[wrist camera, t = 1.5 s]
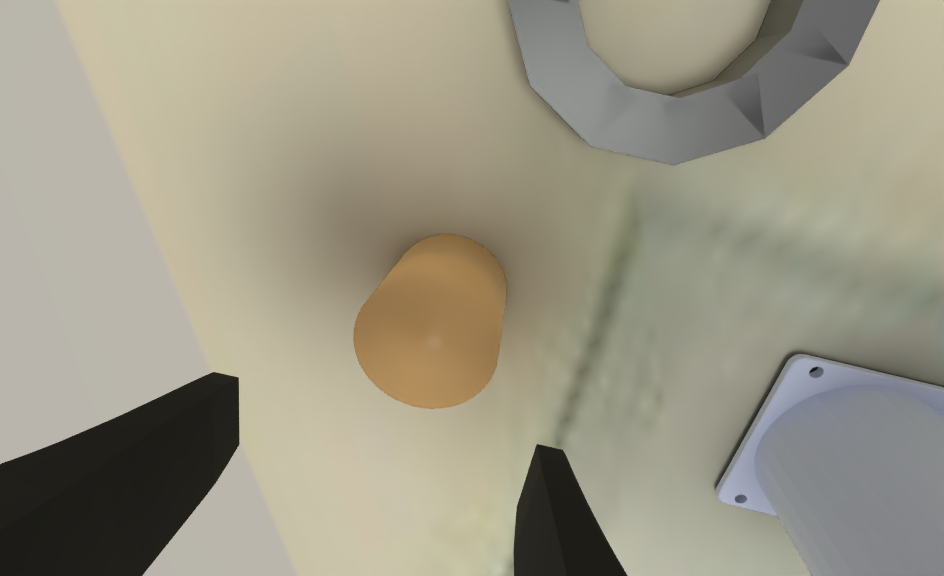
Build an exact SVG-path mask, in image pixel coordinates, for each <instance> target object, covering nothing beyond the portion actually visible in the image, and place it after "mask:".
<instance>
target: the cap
mask: <svg viewBox="0 0 944 576" xmlns="http://www.w3.org/2000/svg"><path fill="white" fill-rule="evenodd" d="M506 290H507V288H506V280H505V276H504V273H503V271H502V268H501V266H500V265H499V263H498V261H497V260H496V259H495V257H494V256H493V255H492V254H491V253H490V252H489V251H488V250H487V249H486V248H485V247H483V246H482V245H480V244H479V243H477V242H476V241H473V240H471V239H469V238H466V237H463V236H458V235H450V234H443V235H435V236H431V237H428V238H425V239H423V240H421V241H419V242H417V243H416V244H414V245H413V246H412V247H411V248H410V249H409V250H407V251H406V253H405V254H404V255H403V256H402V258H401V259H400V260H399V261H398V263H397V264H396V265H395V266H394V268H393V269H392V270H391V271H390V273H389V274H388V275H387V276H386V278H385V279H384V280H383V281H382V283H381V284H380V285H379V286H378V288H377V289H376V290H375V291H374V293H373V294H372V295H371V296H370V298H369V299H368V300H367V301H366V303H365V304H364V305H363V307H362V308H361V310H360V312H359V314H358V317H357V319H356V322H355V327H354V347H355V352H356V355H357V358H358V361H359V363H360V365H361V367H362V369H363V371H364V372H365V373H366V375H367V376H368V378H369V379H370V380H371V381H372V382H373V383H374V384H375V385H376V386H377V387H378V388H379V389H380V390H382V391H383V392H384V393H386V394H387V395H389V396H390V397H392V398H394V399H396V400H398V401H400V402H403V403H405V404H408V405H411V406H415V407H421V408H430V409H435V408H446V407H451V406H455V405H458V404H461V403H463V402H466V401H467V400H469V399H471V398H473V397H474V396H475V395H477V394H478V393H479V392H480V391H481V390H482V389H483V388H484V387H485V386H486V385H487V383H488V382H489V381H490V379H491V377H492V375H493V374H494V371H495V368H496V365H497V360H498V354H499V347H500V339H501V332H502V324H503V317H504V309H505V302H506Z"/></svg>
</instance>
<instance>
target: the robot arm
mask: <svg viewBox="0 0 944 576" xmlns="http://www.w3.org/2000/svg"><path fill="white" fill-rule="evenodd" d="M814 367H818V369H817V370H816V371H814V372H812V373H809V371H810V370H811V369H812V368H814ZM238 446H239V378H238V377H234V376H229V375H225V374H220V373H216V372H213V373H210V374H208V375H206V376H203V377H201V378H199V379H197V380H195V381H193V382H190V383H188V384H186V385H184V386H182V387H180V388H178V389H176V390H174V391H171V392H169V393H167V394H165V395H163V396H161V397H159V398H157V399H155V400H153V401H150V402H148V403H146V404H144V405H142V406H140V407H138V408H136V409H133V410H131V411H129V412H127V413H125V414H123V415H121V416H118V417H116V418H114V419H112V420H109V421H107V422H105V423H102V424H100V425H98V426H95V427H93V428H91V429H88V430H86V431H84V432H81V433H79V434H77V435H74V436H72V437H70V438H68V439H65V440H63V441H60V442H58V443H55V444H53V445H50V446H48V447H45V448H43V449H40V450H37V451H35V452H32V453H30V454H27V455H24V456H22V457H19V458H16V459H13V460H11V461H7V462H5V463H2V464H0V576H142V575H143V574H144V572H145V571H146V570H147V569H148V567H149V566H150V565H151V564H152V563H153V561H154V560H155V559H156V557H157V556H158V555H159V554H160V553H161V551H162V550H163V549H164V548H165V546H166V545H167V544H168V543H169V541H170V540H171V539H172V538H173V536H174V535H175V534H176V533H177V531H178V530H179V529H180V528H181V526H182V525H183V523H185V521H186V520H187V519H188V517H189V516H190V515H191V514H192V512H193V511H194V510H195V509H196V507H197V506H198V505H199V504H200V502H201V501H202V500H203V499H204V497H205V496H206V495H207V493H208V492H209V491H210V489H211V488H212V487H213V486H214V484H215V483H216V481H217V480H218V478H219V477H220V475H221V473H222V471H223V470H224V469H225V467H226V466H227V464H228V462H229V461H230V459H231V457H232V456H233V454H234V452H235V451H236V449H237V447H238ZM716 494H717V496H718V499H719V500H720V501H721V502H723V503H726V504H730V505H734V506H738V507H742V508H746V509H750V510H754V511H758V512H762V513H766V514H770V515H774V516H777V517H778V518H779V520H780V522H781V523H782V525H783V527H784V529H785V530H786V532H787V534H788V536H789V537H790V539H791V541H792V543H793V544H794V546H795V548H796V550H797V551H798V553H799V555H800V556H801V558H802V560H803V562H804V563H805V565H806V567H807V569H808V570H809V572H810V574H811V576H944V387H940V386H936V385H932V384H928V383H923V382H919V381H915V380H911V379H907V378H902V377H898V376H894V375H890V374H886V373H882V372H877V371H873V370H869V369H865V368H861V367H856V366H852V365H848V364H844V363H840V362H835V361H831V360H827V359H823V358H819V357H815V356H810V355H806V354H798V355H794V356H793V357H791V358H790V359H789V360H788V361H787V363H786V365H785V366H784V368H783V370H782V372H781V373H780V375H779V377H778V379H777V381H776V382H775V384H774V386H773V388H772V389H771V391H770V393H769V395H768V397H767V398H766V400H765V402H764V404H763V406H762V407H761V409H760V411H759V413H758V414H757V416H756V418H755V420H754V422H753V423H752V425H751V427H750V429H749V431H748V432H747V434H746V436H745V438H744V439H743V441H742V443H741V445H740V447H739V448H738V450H737V452H736V454H735V455H734V457H733V459H732V461H731V463H730V464H729V466H728V468H727V470H726V472H725V473H724V475H723V477H722V479H721V480H720V482H719V484H718V486H717V488H716ZM737 495H741V496H738V497H737ZM514 576H627V574H626V572H625V571H624V569H623V567H622V566H621V564H620V562H619V560H618V559H617V557H616V555H615V554H614V552H613V550H612V548H611V547H610V545H609V543H608V541H607V539H606V538H605V536H604V534H603V532H602V530H601V528H600V526H599V524H598V522H597V520H596V518H595V517H594V515H593V513H592V511H591V509H590V507H589V505H588V503H587V501H586V499H585V497H584V494H583V492H582V490H581V488H580V486H579V484H578V482H577V479H576V477H575V475H574V473H573V471H572V468H571V466H570V464H569V461H568V459H567V457H566V455H565V453H564V451H563V450H561V449H556V448H552V447H547V446H543V445H538V444H537V445H536V448H535V452H534V455H533V458H532V461H531V464H530V467H529V470H528V474H527V477H526V480H525V483H524V486H523V489H522V493H521V496H520V499H519V502H518V505H517V512H516V525H515V538H514Z"/></svg>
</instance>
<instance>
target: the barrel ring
mask: <svg viewBox="0 0 944 576" xmlns="http://www.w3.org/2000/svg"><path fill="white" fill-rule="evenodd" d="M879 1H880V0H772V2H771V4H770V7H769V9H768V12H767V14H766V17H765V19H764V22H763V24H762V27H761V29H760V32H759V34H758V37H757V39H756V40H755V41H754V42H753V43H752V44H751V45H750V46H749V47H748V48H747V49H746V50H745V51H744V52H743V53H742V54H741V55H739V56H738V57H737V58H736V59H735V60H734V61H733V62H732V63H731V64H730V65H729V66H728V67H727V68H726V69H725V70H724V71H723V72H722V73H721V74H720V75H719V76H718V77H717V78H716V79H715V80H714V81H712V82H708V83H705V84H702V85H699V86H696V87H693V88H690V89H687V90H684V91H681V92H678V93H675V94H672V95H669V96H667V95H663V94H659V93H654V92H650V91H645V90H641V89H636V88H632V87H627V86H625V85H624V83H623V82H622V81H621V80H620V79H619V78H618V77H617V76H616V75H615V74H614V73H613V72H612V71H611V70H610V69H609V68H608V67H607V66H606V64H605V63H604V62H603V61H602V60H601V59H600V58H599V57H598V56H597V55H596V54H595V53H594V52H593V51H592V50H591V49H590V48H589V46H588V45H587V40H586V36H585V31H584V27H583V22H582V17H581V13H580V8H579V3H578V0H508V3H509V7H510V11H511V15H512V19H513V23H514V26H515V30H516V34H517V38H518V42H519V46H520V49H521V53H522V57H523V61H524V65H525V68H526V72H527V76H528V80H529V84H530V86H531V87H532V88H533V89H534V90H535V91H536V92H537V93H538V94H539V95H540V96H541V97H542V98H543V99H544V100H545V101H546V102H547V103H548V104H549V106H550V107H551V108H552V109H553V110H554V111H555V112H556V113H557V114H558V115H559V116H560V117H561V118H562V119H563V120H564V121H565V122H566V123H567V124H568V125H569V126H570V127H571V128H572V129H573V130H574V131H575V132H576V133H577V134H578V135H579V136H580V137H581V138H582V139H583V140H584V141H585V142H586V143H588V144H589V145H590V146H591V147H596V148H600V149H605V150H609V151H613V152H618V153H622V154H626V155H631V156H635V157H640V158H644V159H648V160H653V161H657V162H661V163H666V164H670V165H676V164H679V163H683V162H686V161H690V160H693V159H696V158H700V157H703V156H707V155H710V154H714V153H717V152H720V151H724V150H727V149H731V148H734V147H737V146H741V145H744V144H748V143H751V142H755V141H758V140H761V139H765V138H766V137H767V136H768V135H770V134H771V133H772V132H773V131H774V130H775V129H776V128H778V127H779V126H780V125H781V124H782V123H783V122H784V121H786V120H787V119H788V118H789V117H790V116H791V115H792V114H794V113H795V112H796V111H797V110H798V109H799V108H800V107H802V106H803V105H804V104H805V103H806V102H807V101H808V100H810V99H811V98H812V97H813V96H814V95H815V94H816V93H818V92H819V91H820V90H821V89H822V88H823V87H824V86H826V85H827V84H828V83H829V82H830V81H831V80H832V79H834V78H835V77H836V76H837V75H838V74H839V73H841V72H842V71H843V70H844V69H845V68H846V67H847V66H849V64H850V62H851V59H852V57H853V55H854V53H855V51H856V49H857V47H858V45H859V43H860V41H861V39H862V36H863V34H864V32H865V30H866V28H867V26H868V24H869V22H870V20H871V18H872V16H873V14H874V11H875V9H876V7H877V5H878V3H879Z"/></svg>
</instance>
